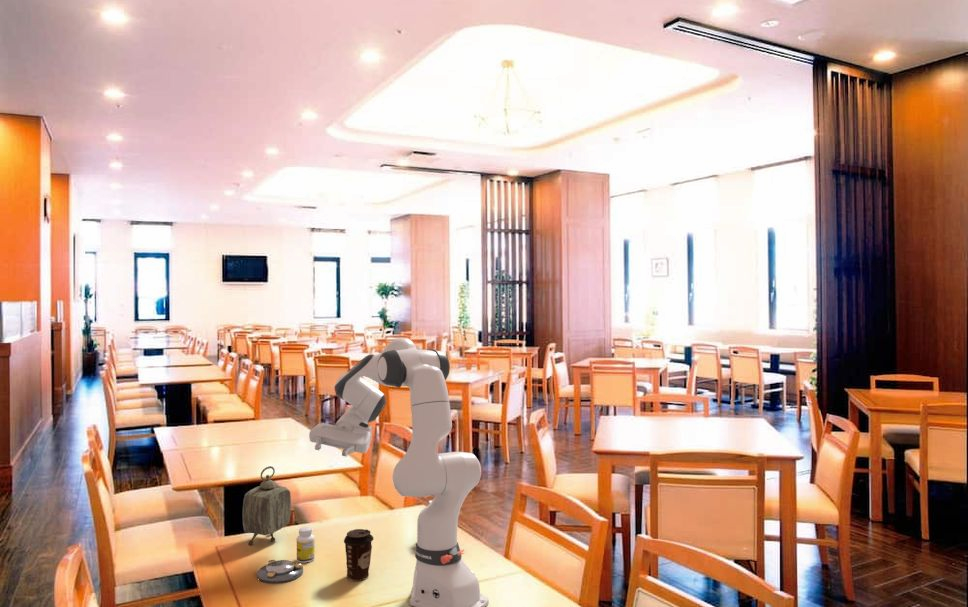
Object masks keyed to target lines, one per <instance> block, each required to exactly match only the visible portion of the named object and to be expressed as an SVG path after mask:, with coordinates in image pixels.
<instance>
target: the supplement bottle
mask: <svg viewBox="0 0 968 607" xmlns="http://www.w3.org/2000/svg"><path fill="white" fill-rule="evenodd" d="M314 560H315V535H313V527H310V526H302V527H299V529H298V536H297V537H296V561H297V563H302V564H307V562H308V563H311V562H313V561H314Z"/></svg>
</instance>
